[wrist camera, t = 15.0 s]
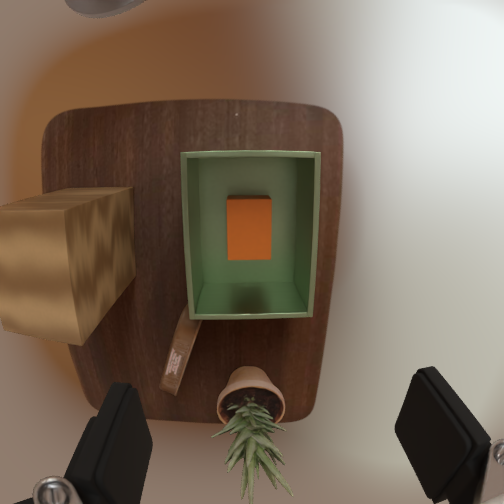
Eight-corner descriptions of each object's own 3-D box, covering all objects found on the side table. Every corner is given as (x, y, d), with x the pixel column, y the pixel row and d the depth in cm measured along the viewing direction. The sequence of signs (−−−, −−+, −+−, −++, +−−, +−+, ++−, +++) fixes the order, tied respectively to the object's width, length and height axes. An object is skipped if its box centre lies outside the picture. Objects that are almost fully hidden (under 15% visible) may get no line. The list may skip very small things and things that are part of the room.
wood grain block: (68, 188, 38) (-18, 211, 20) (133, 186, 38) (64, 210, 21) (74, 270, 41) (3, 330, 24) (136, 275, 42) (82, 346, 24)
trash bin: (199, 285, 42) (189, 319, 33) (194, 153, 38) (180, 152, 28) (297, 283, 43) (312, 317, 34) (301, 153, 38) (320, 152, 29)
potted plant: (282, 356, 46) (312, 495, 23) (276, 400, 49) (296, 529, 25) (215, 354, 46) (204, 497, 22) (215, 399, 48) (208, 530, 25)
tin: (184, 372, 47) (176, 409, 38) (164, 366, 46) (154, 402, 38) (212, 290, 43) (207, 321, 35) (190, 283, 42) (180, 312, 34)
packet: (227, 195, 39) (226, 199, 35) (268, 195, 39) (272, 199, 35) (228, 250, 41) (227, 260, 37) (267, 250, 41) (271, 259, 37)
